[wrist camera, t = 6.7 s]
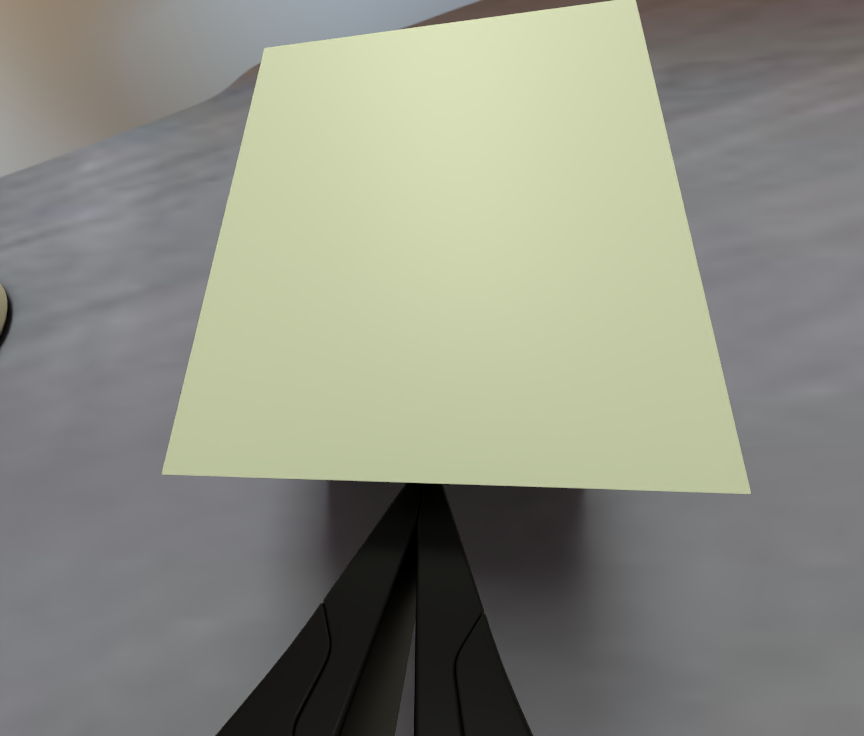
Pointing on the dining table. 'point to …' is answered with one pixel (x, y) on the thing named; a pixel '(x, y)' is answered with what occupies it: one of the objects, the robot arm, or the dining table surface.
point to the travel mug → (2, 308)
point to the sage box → (459, 270)
